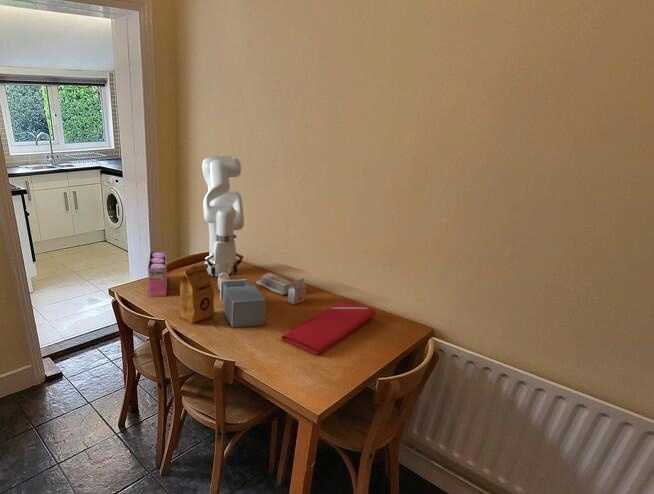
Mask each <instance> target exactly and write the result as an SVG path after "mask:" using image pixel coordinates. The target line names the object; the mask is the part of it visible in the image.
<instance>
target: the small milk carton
mask: <svg viewBox="0 0 654 494" xmlns="http://www.w3.org/2000/svg"><path fill="white" fill-rule="evenodd" d="M306 286H307V285H306V282H305V278H304V277H303V278H299V279H296V280H293V281H292V284H291V286H290V287H289V289H288V294H287V303H289V304H291V305H297V304H301V303H303V302H305V301H306V293H307V292H306V291H307V287H306Z"/></svg>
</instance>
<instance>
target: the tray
mask: <svg viewBox="0 0 654 494" xmlns="http://www.w3.org/2000/svg"><path fill="white" fill-rule="evenodd" d="M239 286H250V284H249V283H248V279H247V278H241V279H240V278H238V279H230V280H224V281H221V283H220V290H219V291H220V292H219V300H220V301H222V302H223V303H224V288H225V287H239Z"/></svg>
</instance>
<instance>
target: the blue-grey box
mask: <svg viewBox="0 0 654 494" xmlns="http://www.w3.org/2000/svg"><path fill="white" fill-rule="evenodd" d="M266 303H267V300H266V298H265V297H264V296H263V294H262V293H261V292H260V290H259V289H258V288H257V287H256V285H249V286H239V287H225V288H224V302H223V313H224V314H225V316H226V318H227V320H228V322H229V324H230V326H231V328H244V327H254V326H255V327H256V326H265V319H266V317H265V315H266Z"/></svg>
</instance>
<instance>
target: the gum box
mask: <svg viewBox="0 0 654 494" xmlns="http://www.w3.org/2000/svg"><path fill="white" fill-rule="evenodd" d="M147 276H148V277H147V278H148V295H149V297H163V296H164V297H165V296H167V294H168V291H167V290H168V263H167V252H166V251H162V252H154V251H150V253H149V260H148V266H147Z"/></svg>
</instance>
